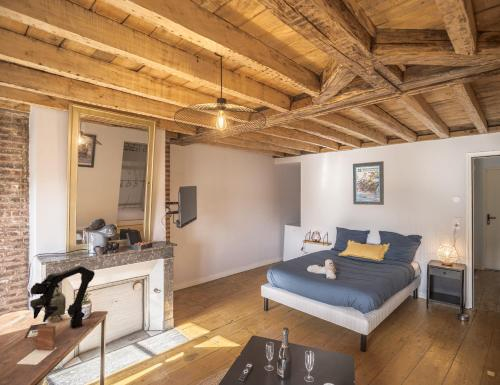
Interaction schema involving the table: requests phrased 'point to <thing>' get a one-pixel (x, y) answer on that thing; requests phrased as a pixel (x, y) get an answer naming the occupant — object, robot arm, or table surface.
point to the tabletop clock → (58, 304)
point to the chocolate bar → (33, 330)
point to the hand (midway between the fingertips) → (39, 320)
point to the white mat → (35, 357)
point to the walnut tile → (46, 337)
